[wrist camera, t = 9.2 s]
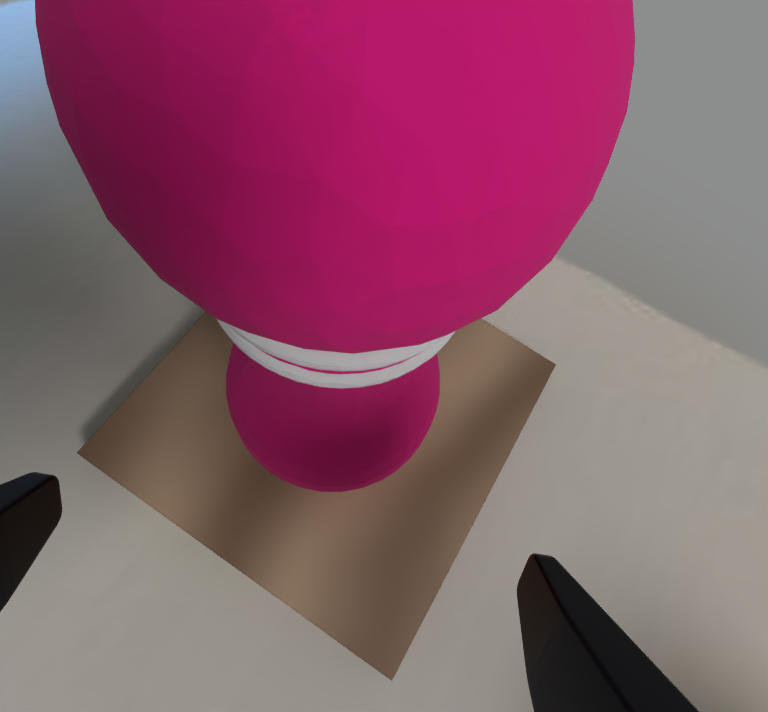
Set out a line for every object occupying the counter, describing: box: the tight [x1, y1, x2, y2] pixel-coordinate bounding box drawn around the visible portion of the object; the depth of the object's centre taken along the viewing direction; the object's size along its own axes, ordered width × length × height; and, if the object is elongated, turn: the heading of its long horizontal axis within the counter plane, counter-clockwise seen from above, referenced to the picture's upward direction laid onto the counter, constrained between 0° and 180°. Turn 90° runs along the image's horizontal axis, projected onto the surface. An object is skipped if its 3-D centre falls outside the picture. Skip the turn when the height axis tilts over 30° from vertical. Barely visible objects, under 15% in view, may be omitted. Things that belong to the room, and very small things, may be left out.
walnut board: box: [77, 311, 556, 680], centre depth 21 cm, size 15×15×1 cm
